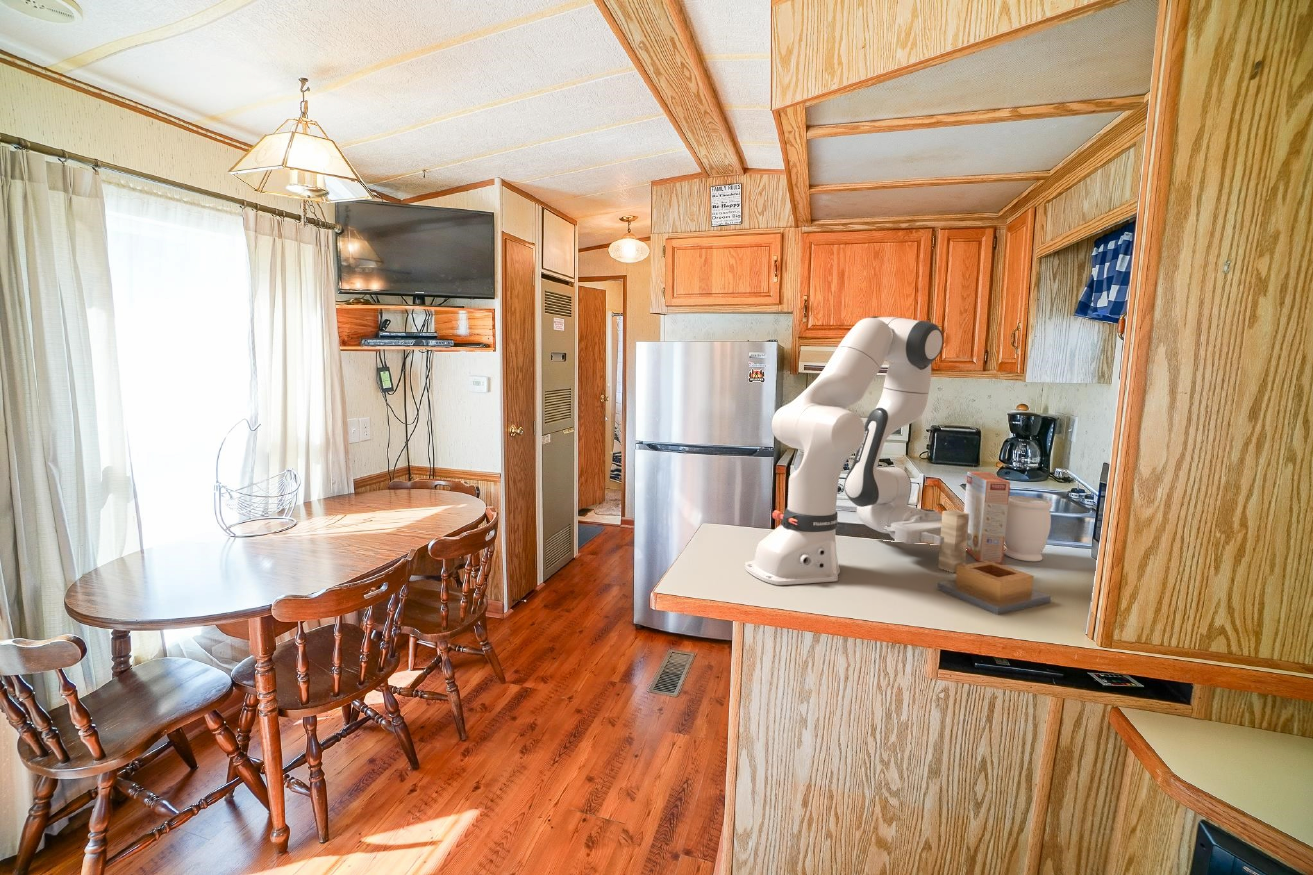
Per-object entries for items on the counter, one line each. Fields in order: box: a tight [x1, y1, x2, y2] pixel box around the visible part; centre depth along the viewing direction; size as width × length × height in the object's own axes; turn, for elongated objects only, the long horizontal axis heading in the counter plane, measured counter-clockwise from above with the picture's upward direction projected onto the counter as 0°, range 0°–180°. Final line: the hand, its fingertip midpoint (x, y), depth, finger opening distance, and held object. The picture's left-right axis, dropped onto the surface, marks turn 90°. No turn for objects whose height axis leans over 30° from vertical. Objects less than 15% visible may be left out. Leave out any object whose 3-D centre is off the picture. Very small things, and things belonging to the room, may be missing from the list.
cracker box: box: [963, 471, 1011, 565], centre depth 148 cm, size 14×6×21 cm, turn 168°
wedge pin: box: [937, 509, 969, 574], centre depth 137 cm, size 4×4×14 cm
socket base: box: [936, 561, 1052, 615], centre depth 122 cm, size 16×14×6 cm
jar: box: [1003, 495, 1053, 562], centre depth 147 cm, size 11×10×15 cm
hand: (956, 538), depth 136 cm, fingers open, 8 cm apart
